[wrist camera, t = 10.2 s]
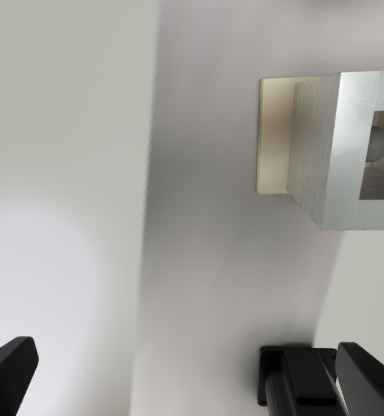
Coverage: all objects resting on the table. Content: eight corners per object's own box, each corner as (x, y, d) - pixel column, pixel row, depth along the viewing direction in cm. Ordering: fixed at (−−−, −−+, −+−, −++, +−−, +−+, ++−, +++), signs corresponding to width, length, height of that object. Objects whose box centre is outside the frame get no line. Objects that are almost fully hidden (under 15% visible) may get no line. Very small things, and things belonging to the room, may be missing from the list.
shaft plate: (408, 187, 19) (469, 213, 15) (256, 190, 20) (269, 216, 15) (433, 72, 17) (516, 60, 12) (260, 79, 18) (277, 71, 13)
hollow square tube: (388, 188, 18) (474, 229, 12) (286, 189, 19) (321, 230, 13) (411, 78, 16) (527, 64, 10) (294, 83, 17) (341, 72, 11)
